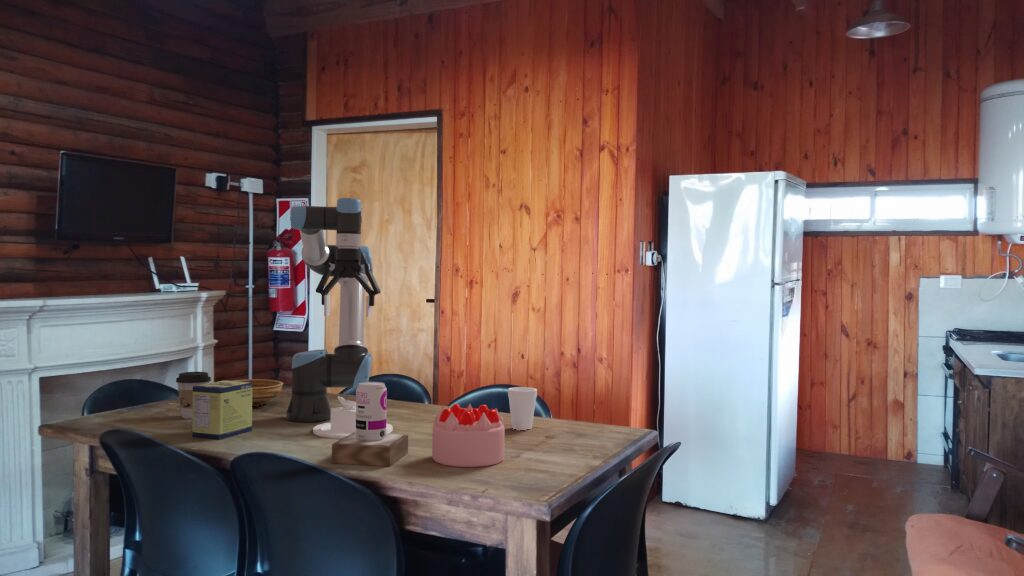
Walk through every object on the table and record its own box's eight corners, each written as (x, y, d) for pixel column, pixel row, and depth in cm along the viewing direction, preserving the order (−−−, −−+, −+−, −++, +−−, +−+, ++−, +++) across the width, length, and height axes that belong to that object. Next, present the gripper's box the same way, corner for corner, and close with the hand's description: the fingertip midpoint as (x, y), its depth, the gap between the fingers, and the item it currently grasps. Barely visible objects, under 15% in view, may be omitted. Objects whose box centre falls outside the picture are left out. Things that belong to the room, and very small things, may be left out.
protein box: (253, 430, 248) (253, 381, 248) (219, 440, 234) (220, 388, 233) (225, 427, 252) (226, 379, 252) (191, 437, 237) (191, 385, 237)
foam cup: (540, 427, 260) (541, 388, 260) (529, 432, 252) (530, 392, 252) (514, 424, 264) (515, 386, 264) (502, 429, 256) (503, 389, 256)
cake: (428, 467, 205) (429, 413, 204) (435, 450, 225) (436, 400, 224) (503, 468, 205) (504, 414, 205) (504, 451, 225) (505, 401, 225)
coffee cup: (167, 418, 266) (167, 374, 266) (192, 412, 277) (193, 370, 276) (193, 421, 262) (193, 376, 262) (218, 415, 272) (218, 372, 272)
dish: (354, 443, 233) (355, 405, 233) (296, 433, 247) (296, 397, 247) (408, 430, 254) (409, 395, 254) (351, 421, 268) (352, 388, 267)
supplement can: (389, 435, 218) (389, 381, 218) (381, 442, 210) (382, 386, 209) (360, 434, 219) (361, 381, 218) (352, 441, 210) (352, 385, 210)
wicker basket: (196, 404, 294) (197, 383, 293) (249, 396, 314) (249, 376, 314) (249, 413, 278) (249, 390, 278) (301, 404, 298) (301, 383, 298)
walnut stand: (331, 463, 208) (332, 443, 207) (353, 449, 223) (353, 431, 223) (390, 466, 205) (390, 446, 205) (408, 452, 221) (408, 434, 221)
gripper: (305, 247, 242) (304, 316, 242) (383, 248, 238) (382, 318, 238) (315, 248, 249) (314, 314, 250) (391, 248, 245) (390, 316, 246)
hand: (347, 316), depth 244 cm, fingers open, 13 cm apart
